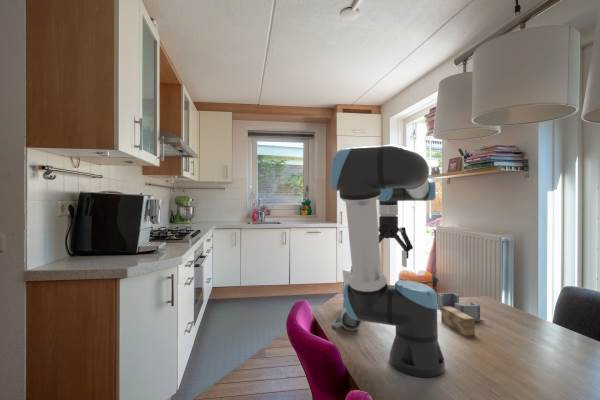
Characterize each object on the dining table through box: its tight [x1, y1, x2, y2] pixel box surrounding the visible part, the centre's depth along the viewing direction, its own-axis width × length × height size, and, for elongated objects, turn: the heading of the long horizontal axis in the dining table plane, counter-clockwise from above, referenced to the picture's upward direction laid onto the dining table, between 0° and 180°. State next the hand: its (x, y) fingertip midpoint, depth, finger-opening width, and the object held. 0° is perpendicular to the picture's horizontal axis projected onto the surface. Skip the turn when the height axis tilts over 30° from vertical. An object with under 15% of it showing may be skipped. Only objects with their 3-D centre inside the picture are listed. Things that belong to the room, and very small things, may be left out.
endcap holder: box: [436, 292, 484, 322], centre depth 137 cm, size 20×10×6 cm, turn 5°
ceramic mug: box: [332, 307, 363, 331], centre depth 122 cm, size 11×8×8 cm
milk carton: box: [342, 265, 353, 309], centre depth 140 cm, size 9×9×20 cm
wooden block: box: [440, 306, 476, 336], centre depth 120 cm, size 14×4×6 cm, turn 9°
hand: (388, 266), depth 131 cm, fingers open, 13 cm apart
